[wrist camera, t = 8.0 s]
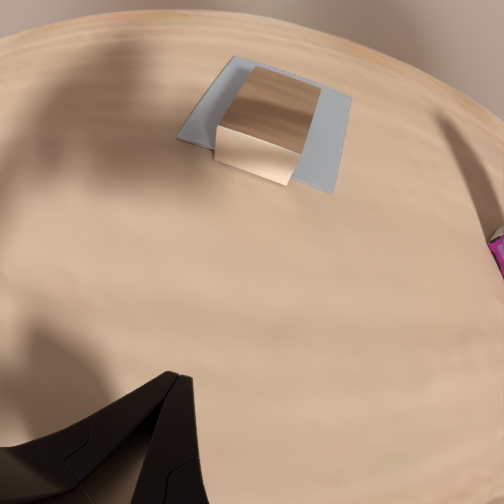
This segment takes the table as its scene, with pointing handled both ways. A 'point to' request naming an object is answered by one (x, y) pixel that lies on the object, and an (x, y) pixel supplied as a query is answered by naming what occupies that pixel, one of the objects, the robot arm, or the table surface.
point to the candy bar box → (498, 248)
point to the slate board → (319, 136)
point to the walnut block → (267, 125)
